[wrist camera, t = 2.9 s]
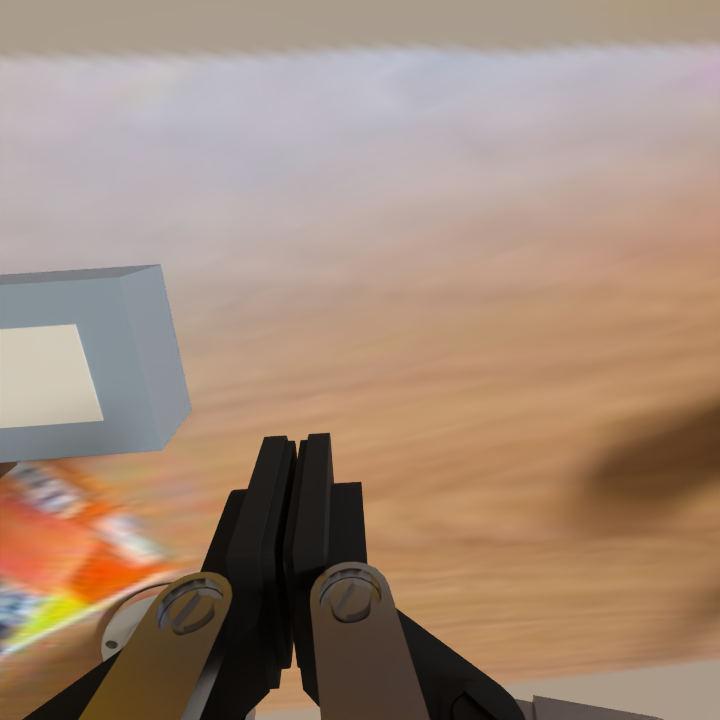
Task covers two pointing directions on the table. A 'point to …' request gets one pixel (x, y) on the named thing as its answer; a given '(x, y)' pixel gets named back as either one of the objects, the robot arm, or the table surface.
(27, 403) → the carton
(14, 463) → the display bay
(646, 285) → the table surface
